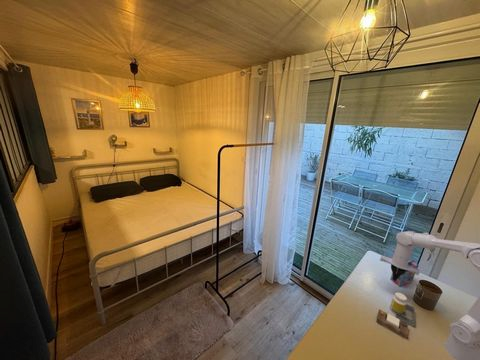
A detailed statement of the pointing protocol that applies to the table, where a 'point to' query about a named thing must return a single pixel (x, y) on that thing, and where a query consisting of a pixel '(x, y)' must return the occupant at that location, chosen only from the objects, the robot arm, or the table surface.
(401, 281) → the ink cartridge box
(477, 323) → the robot arm
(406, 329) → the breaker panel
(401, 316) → the lockout bracket
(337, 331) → the table surface
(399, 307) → the supplement bottle
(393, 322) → the button
